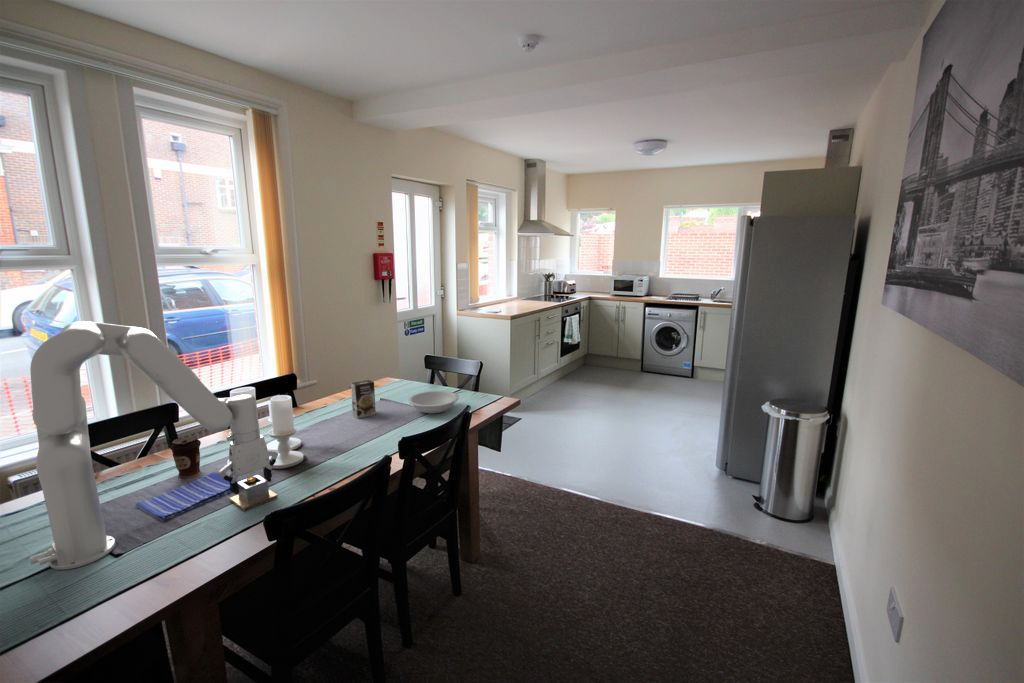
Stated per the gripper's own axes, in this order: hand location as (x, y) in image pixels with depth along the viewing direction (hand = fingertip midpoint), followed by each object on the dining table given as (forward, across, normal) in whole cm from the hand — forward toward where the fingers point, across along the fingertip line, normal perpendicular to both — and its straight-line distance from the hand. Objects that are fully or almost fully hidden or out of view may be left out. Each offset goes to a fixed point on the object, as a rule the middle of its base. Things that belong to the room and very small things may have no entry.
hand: (252, 486), depth 145 cm
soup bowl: (+5, +91, +15) cm, 92 cm away
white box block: (+3, 0, 0) cm, 3 cm away
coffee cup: (+4, -6, +35) cm, 36 cm away
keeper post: (+4, 0, 0) cm, 4 cm away
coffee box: (+4, +67, +37) cm, 77 cm away
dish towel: (+5, -11, +18) cm, 22 cm away
